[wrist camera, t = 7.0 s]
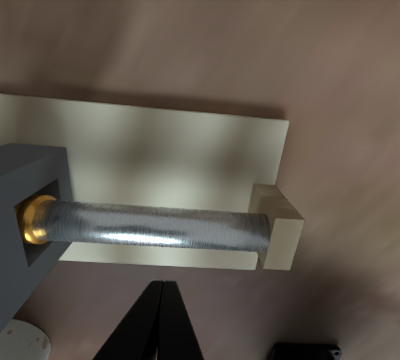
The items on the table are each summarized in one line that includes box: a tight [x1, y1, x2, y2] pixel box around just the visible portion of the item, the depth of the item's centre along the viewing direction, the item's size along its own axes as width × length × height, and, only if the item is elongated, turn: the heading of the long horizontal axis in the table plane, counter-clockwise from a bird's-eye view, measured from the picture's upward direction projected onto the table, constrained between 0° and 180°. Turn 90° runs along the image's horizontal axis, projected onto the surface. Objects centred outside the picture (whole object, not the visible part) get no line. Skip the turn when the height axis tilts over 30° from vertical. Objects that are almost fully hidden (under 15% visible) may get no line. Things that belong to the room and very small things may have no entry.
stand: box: [0, 93, 305, 270], centre depth 13 cm, size 18×11×5 cm, turn 85°
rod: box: [14, 194, 270, 253], centre depth 11 cm, size 18×2×2 cm, turn 85°
